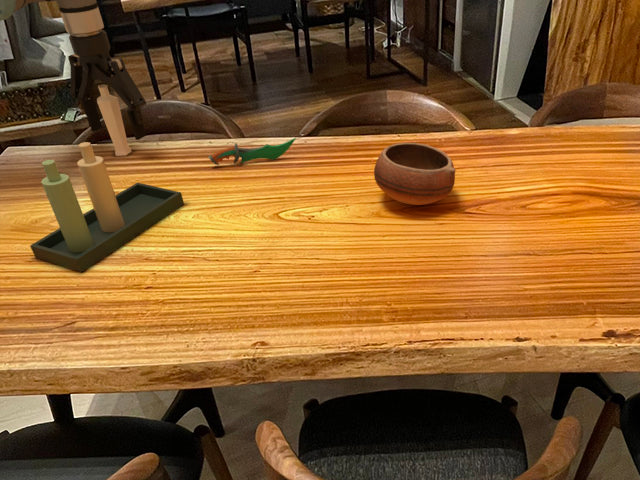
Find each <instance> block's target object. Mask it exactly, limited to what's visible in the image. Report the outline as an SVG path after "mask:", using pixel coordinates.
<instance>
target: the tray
mask: <svg viewBox="0 0 640 480" xmlns="http://www.w3.org/2000/svg"><path fill="white" fill-rule="evenodd" d="M115 196H116V199H117V202H118V205H119V208H120V211H121V214H122V217H123V220H124V223H125V226H124V227H122V228H121V229H119V230H118V231H115V232H104V231H102V230H101V227H100V224H99V222H98V219H97V216H96V213H95V211H94V208H93V207H92V208H91V209H90V210H88V211H86V212H85V213H83V216H84V218H85V221H86V224H87V226H88V229H89V231H90V234H91V237H92V239H93V242H94V246H92V247H91V248H89V249H88V250H86V251H85V252H80V253H74V252H71V251H70V250H69V248H68V246H67V243H66V241H65V239H64V236H63V234H62V231H61V229H60V227H59V228H57V229H55V230H54V231H52V232H50V233H49V234H47V235H45V236H43V237H42V238H40V239H39V240H37V241H35V242H33V243H32V244H30V245H29V247H30V250H31V251H32V254H33V255H34V258H35V259H36V260H37V259H38V260H41V261H44V262H48V263H51V264H54V265H56V266H61V267H63V268H67V269H70V270H74V271H77V272H80V273H83V272H85V271H86V270H88V269H89V268H91V267H92V266H94V265H95V264H96V263H98V262H100V261H101V260H103V259H104V258H106V257H107V256H109V255H110V254H112V253H113V252H114V251H116V250H118V249H119V248H120V247H122V246H124V245H125V244H126V243H128V242H130V241H131V240H133V239H134V238H136V237H138V235H140V234H142V233H143V232H145V231H147V230H148V229H150V228H151V227H152V226H153V225H155V224H156V223H159V222H160V221H161V220H163V219H164V218H166V217H167V216H169V215H170V214H172V213H173V212H175V211H176V210H178V209H179V208H181V207H182V206H183V205H185V203H184V198H183V194H182V192H181V191H177V190H172V189H168V188H163V187H159V186H155V185H150V184H146V183H141V182H135V183H134V184H133V185H131V186H129V187H127V188H126V189H124V190H122V191H121V192H118V193H117V194H115Z"/></svg>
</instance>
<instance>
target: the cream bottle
mask: <svg viewBox="0 0 640 480" xmlns="http://www.w3.org/2000/svg"><path fill="white" fill-rule="evenodd" d="M78 148H79V151H80V154H81V157H82V158H80V159H79V160H78V161H77V163H76V164H77V166H78V169H79V172H80V176H81V178H82V180H83V183H84V187H85V188H86V192H87V194H88V197H89V200H90V203H91V205H92V209H93V208H94V211H95V213H96V216H97V219H98V222H99V224H100V227H101V230H102V231H104V232H115V231H118V230H119V229H121V228H122V227H124V226H125V223H124V220H123V217H122V214H121V211H120V208H119V205H118V202H117V199H116V196H115V195H116V193H115V189H114V186H113V184H112V181H111V178H110V175H109V172H108V168H107V165H106V163H105V160H104V158H103V157H102V156H98V155H95V153H94V150H93V147H92V144H91V142H88V141H84V142H80V143H79V144H78Z"/></svg>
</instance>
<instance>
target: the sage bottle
mask: <svg viewBox="0 0 640 480" xmlns="http://www.w3.org/2000/svg"><path fill="white" fill-rule="evenodd" d="M41 165H42V167H43V170H44V172H45V175H46V176H45V177H44V178H42V180H41V181H40V182H41V185H42V188H43V189H44V192H45V195H46V197H47V200H48V202H49V205H50V207H51V209H52V212H53V214H54V217H55V219H56V222H57V225H58V226H59V228H60V229H61V231H62V234H63V236H64V239H65V241H66V243H67V246H68V248H69V250H70V251H71V252H74V253H80V252H85V251H86V250H88V249H89V248H91V247H92V246H94V242H93V239H92V237H91V234H90V231H89V229H88V226H87V224H86V221H85V218H84V216H83V214H84V213H83V211H82V208H81V205H80V203H79V200H78V197H77V195H76V192H75V189H74V187H73V184H72V182H71V179H70V176H69V175H68V174H65V173H60V171H59V169H58V166H57V163H56V161H55V160H54V159H46V160H44V161H42V162H41Z"/></svg>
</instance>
